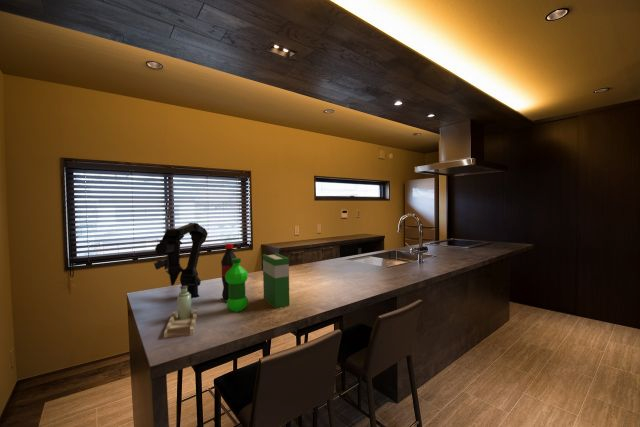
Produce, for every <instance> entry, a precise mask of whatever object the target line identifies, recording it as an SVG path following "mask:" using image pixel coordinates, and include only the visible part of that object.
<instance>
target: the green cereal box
mask: <svg viewBox="0 0 640 427" xmlns="http://www.w3.org/2000/svg"><path fill="white" fill-rule="evenodd" d="M289 261H290V258H289V257H287V256H285V255H281V254H279V253H276V252H274V253H273V254H269V255H268V254H265V253H264V254H262V272H263V273H262V276H263V278H262V279H263V280H262V281H263V299H264V300H265V301H266V302H267V303H268V302H269V303H268V304H269V305H271V306H272V307H273V308H274V307H275V308H277V309H281V308H280V307H282V308H286V307H290V306H289V305H290V262H289ZM285 306H286V307H285ZM275 308H274V309H275Z"/></svg>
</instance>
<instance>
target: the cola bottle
mask: <svg viewBox="0 0 640 427" xmlns="http://www.w3.org/2000/svg"><path fill="white" fill-rule="evenodd" d="M224 246H225V247H224V249H225V253H224V255H223V256H222V259H221V260H220V263H221V264H220V265H221V282H222V285H223V289H222V293H221V296H222V299H223V300H224V301H225V302H227V300H228V298H229V296H228V283H227V282H226V280H225V275H226V272H227V271H228V270H229V269H230V268H231V267H232V266H233V263H232V259H233V258H237V256H236V254H235V253H234V243H226V244H225V245H224Z"/></svg>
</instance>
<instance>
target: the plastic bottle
mask: <svg viewBox="0 0 640 427" xmlns="http://www.w3.org/2000/svg"><path fill="white" fill-rule="evenodd" d="M232 263H233V266H232V267H231V268H230V269H229V270H228V271H227V272H226V275H225V280H226V282H227V283H228V296H229V298H228V300H227V301H226V306H227V308H228V309H229V310H230V311H232V312H236V313H240V312H242V311H243V310H244V309H245V308H246V307H247V305H248V303H249V302H248V298H247V295H246V281H247V279H248V275H249V274H248V271H247V269H245V268H244V267H243V266H241V263H242V260H241V257H236V258H233V259H232ZM239 311H240V312H239Z"/></svg>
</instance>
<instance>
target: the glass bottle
mask: <svg viewBox="0 0 640 427" xmlns="http://www.w3.org/2000/svg"><path fill="white" fill-rule="evenodd" d="M179 288H180V292H179V293H178V294H177V299H176V300H177V315H178V319H181V320H182V319H188V318H190V317H191V316H192V313H193V312H192V298H191V294H190V293H189V292H187V288H188V286H182V285H180V286H179Z"/></svg>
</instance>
